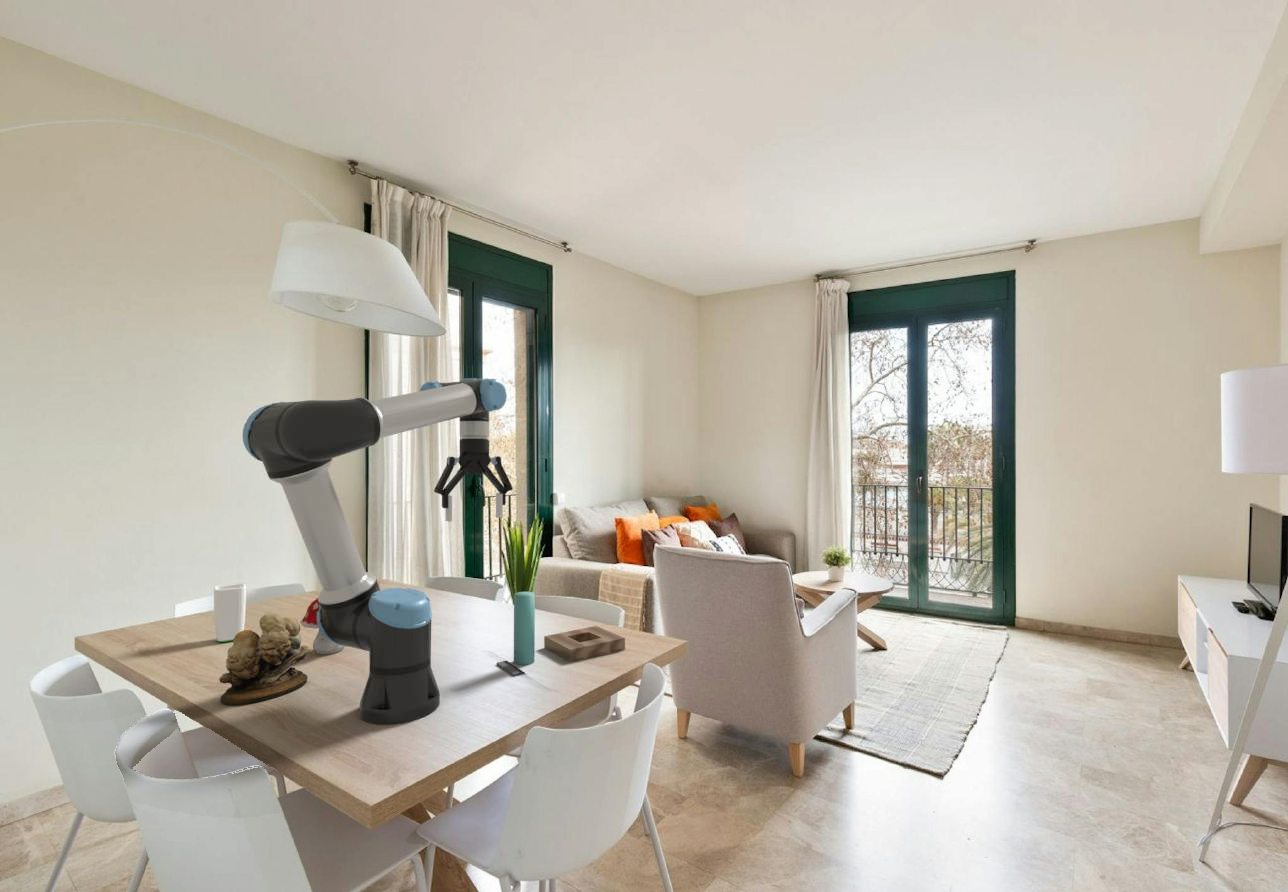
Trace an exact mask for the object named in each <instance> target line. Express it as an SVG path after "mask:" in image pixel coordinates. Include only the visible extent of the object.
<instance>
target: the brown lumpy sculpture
mask: <svg viewBox="0 0 1288 892" xmlns="http://www.w3.org/2000/svg"><path fill="white" fill-rule="evenodd" d="M301 626H302V625H301V623H300V622H299V621H298V619H297V618H296V617H292V616H285V617H282V616H281V615H280V614H278V613H276V612H275V613H273V612H267V613H266V614H264V615H262V616H261V618H260V619H259V627H260V629H261V631H262V633H261V635H259V634H258V633H257V632H255V631H253V630H251V629H250V630H249V629H248V630H247V629H246V630H245V629H244V630H243V631H241V632H239V633H237V635H235V637H234V639H233V641H232V645H231V646H230V647H229V648H228V650H227V658H225V659H226V660H225V663H226V665H225V667H226V670H227V671H228V672H225V673H223V674H221V676H220V677H219V682H220V683H221V684H230V685H231V686H230V687H228V688H227V689H226V690H225V692H224V693H222V694H221V696H220V703H221V704H222V705H226V706H232V707H234V706H244V705H249V704H250V705H251V704H255V703H259V702H263V701H268V700H272V699H274V698H277V697H281V696H283V695H287V694H290V693H292V692H294V691H296V690H299V689H300V688H302V687H303V686H304V685H305V684H307V682H308V677H309V676H308V675H307V673H304V672H303V671H301V670H298V669H296V668H295V667H292V666H294V665H296V664H298V663H300V662H301V661H303V660H304V659H305V657H306V655H307V654H308V653H309V652H310V650H309V646H308V645H302V635H301V634H300V632H301Z"/></svg>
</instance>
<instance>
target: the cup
mask: <svg viewBox="0 0 1288 892" xmlns="http://www.w3.org/2000/svg"><path fill="white" fill-rule="evenodd" d="M246 607H247V585H246V584H245V583H232V584H222V585H215V586H214V587H213V612H214V613H213V615H214V618H213V619H214V626H215V627H214V628H215V634H216V635H215V636H216V639H217V642H219V643H227V642H233V639H234V637H235V635H237V633H239V632H241V631H243V630H245V622H246V612H247V611H246Z"/></svg>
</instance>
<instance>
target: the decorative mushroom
mask: <svg viewBox="0 0 1288 892" xmlns="http://www.w3.org/2000/svg"><path fill="white" fill-rule="evenodd" d="M319 605H320V604H319V601H318V597H317V598H316V599H315V600H313V601H312V602H311V603H310V604H309V605H308V607H307V609H306V612H305V615H304V617H303V618H302V619H301V620H300V622H299V624H300V626H302V627H303V628H306V629H318V632H317V635H316V636H315V638H314V640H313V643H312V649H313V650H314V651H315V652H316V653H317V654H319V655H330V654H337V653H340V652H341V651H343V650H344V649H345V647H346V646H344V645H339V644H337V643H335V642H333V641H331V640H329V639H327V638H326V637H325V636H324V635H323V634H322V633H321V631H320V629H319V627H318V624H317V612H318V611H319V608H320V607H319Z"/></svg>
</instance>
